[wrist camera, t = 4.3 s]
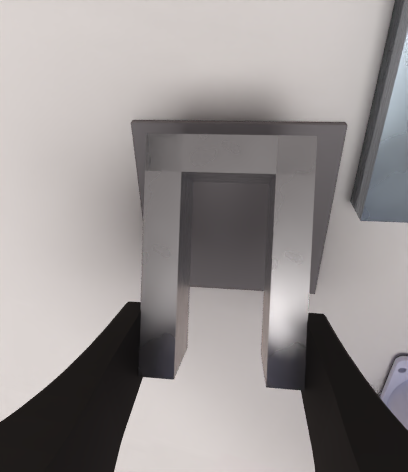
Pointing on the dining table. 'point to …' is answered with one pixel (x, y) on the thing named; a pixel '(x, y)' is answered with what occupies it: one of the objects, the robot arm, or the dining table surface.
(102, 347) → the robot arm
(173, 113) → the dining table surface
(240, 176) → the gray tabletop stand
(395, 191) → the metal base with post
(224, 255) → the mat
